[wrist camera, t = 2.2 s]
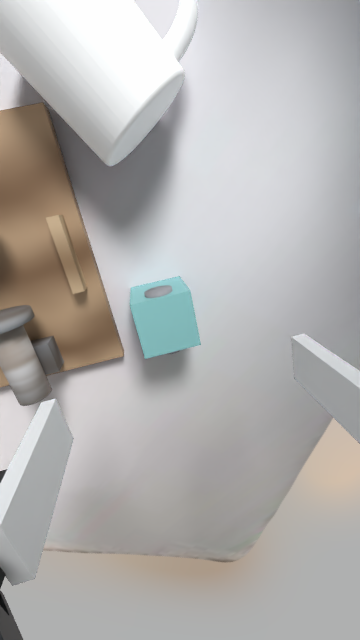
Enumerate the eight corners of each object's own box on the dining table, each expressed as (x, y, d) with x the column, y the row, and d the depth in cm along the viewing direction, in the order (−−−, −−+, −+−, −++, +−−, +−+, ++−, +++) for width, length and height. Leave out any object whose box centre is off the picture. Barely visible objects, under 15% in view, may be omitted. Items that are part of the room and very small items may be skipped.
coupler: (130, 284, 28) (128, 301, 22) (178, 273, 28) (189, 287, 23) (144, 334, 30) (145, 361, 25) (189, 323, 30) (201, 347, 25)
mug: (112, 174, 25) (102, 156, 17) (10, 66, 21) (-58, -15, 14) (212, 61, 23) (249, -13, 16) (118, -77, 19) (108, -256, 12)
